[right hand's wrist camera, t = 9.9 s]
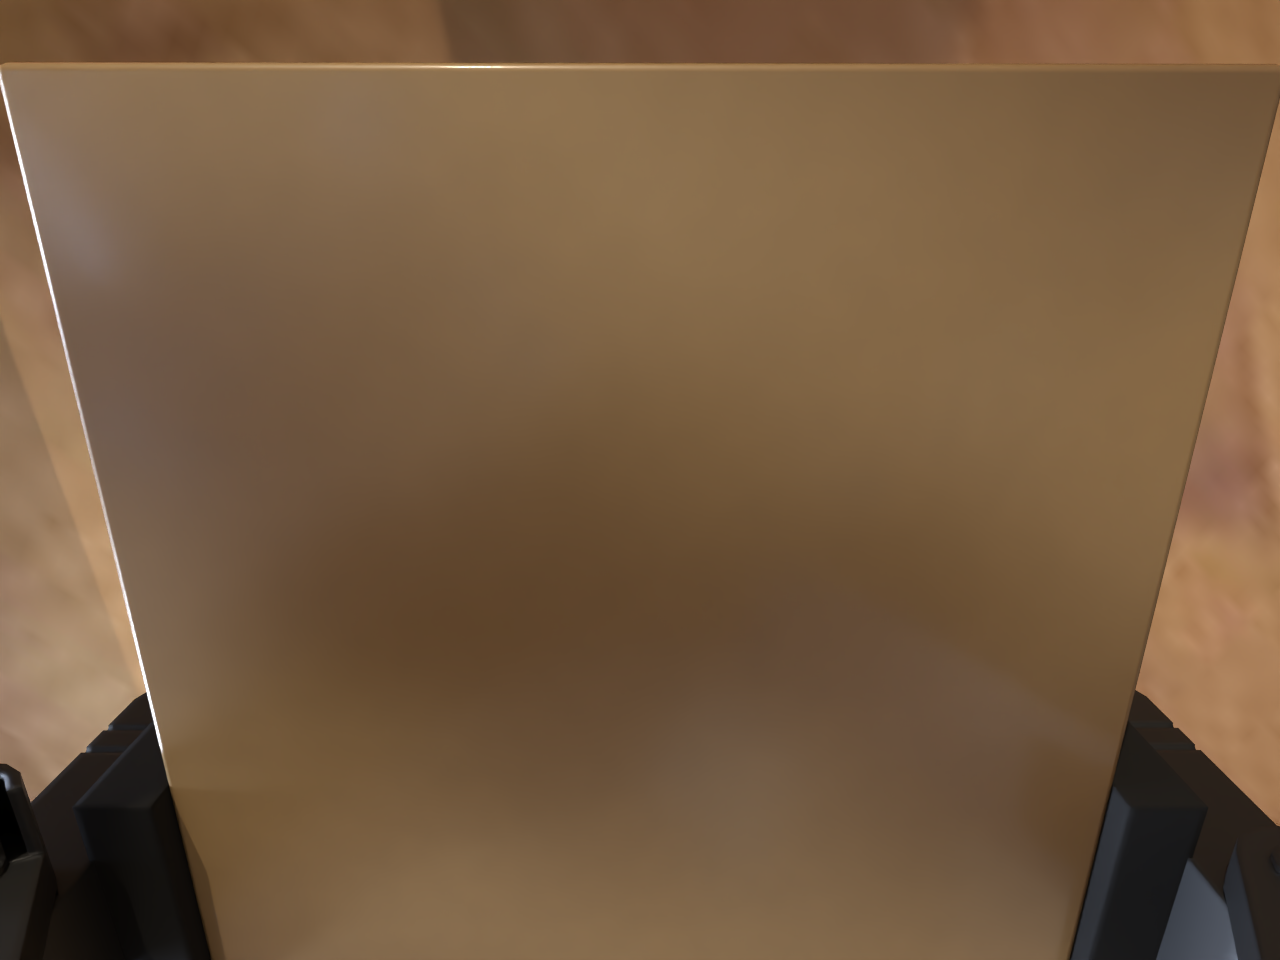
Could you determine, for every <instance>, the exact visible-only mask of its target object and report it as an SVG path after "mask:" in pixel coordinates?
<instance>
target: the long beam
mask: <svg viewBox="0 0 1280 960" xmlns="http://www.w3.org/2000/svg"><path fill="white" fill-rule="evenodd" d="M0 86H1V90H2V94H3V98H4V102H5V107H6V111H7V115H8V119H9V123H10V127H11V131H12V136H13V140H14V144H15V148H16V152H17V156H18V160H19V165H20V169H21V173H22V177H23V181H24V185H25V190H26V194H27V198H28V202H29V206H30V210H31V214H32V219H33V223H34V227H35V231H36V235H37V239H38V243H39V248H40V252H41V256H42V260H43V264H44V268H45V273H46V277H47V281H48V285H49V289H50V293H51V297H52V302H53V306H54V310H55V314H56V318H57V322H58V326H59V331H60V335H61V339H62V343H63V347H64V351H65V355H66V360H67V364H68V368H69V372H70V376H71V380H72V385H73V389H74V393H75V397H76V401H77V405H78V409H79V414H80V418H81V422H82V426H83V430H84V434H85V438H86V443H87V447H88V451H89V455H90V459H91V463H92V468H93V472H94V476H95V480H96V484H97V488H98V492H99V497H100V501H101V505H102V509H103V513H104V517H105V521H106V526H107V530H108V534H109V538H110V542H111V546H112V551H113V555H114V559H115V563H116V567H117V571H118V575H119V580H120V584H121V588H122V592H123V596H124V600H125V604H126V609H127V613H128V617H129V621H130V625H131V629H132V634H133V638H134V642H135V646H136V650H137V654H138V658H139V663H140V667H141V671H142V675H143V679H144V683H145V687H146V692H147V696H148V700H149V704H150V708H151V712H152V717H153V721H154V725H155V729H156V733H157V737H158V741H159V746H160V750H161V754H162V758H163V762H164V766H165V770H166V775H167V779H168V783H169V787H170V791H171V795H172V800H173V804H174V808H175V812H176V816H177V820H178V824H179V829H180V833H181V837H182V841H183V845H184V849H185V853H186V858H187V862H188V866H189V870H190V874H191V878H192V883H193V887H194V891H195V895H196V899H197V903H198V907H199V912H200V916H201V920H202V924H203V928H204V932H205V936H206V941H207V945H208V949H209V953H210V957H211V960H1069V959H1070V955H1071V951H1072V946H1073V942H1074V938H1075V934H1076V930H1077V926H1078V922H1079V918H1080V914H1081V910H1082V906H1083V901H1084V897H1085V893H1086V889H1087V885H1088V881H1089V877H1090V873H1091V869H1092V865H1093V860H1094V856H1095V852H1096V848H1097V844H1098V840H1099V836H1100V832H1101V828H1102V824H1103V820H1104V815H1105V811H1106V807H1107V803H1108V799H1109V795H1110V791H1111V787H1112V783H1113V779H1114V775H1115V770H1116V766H1117V762H1118V758H1119V754H1120V750H1121V746H1122V742H1123V738H1124V734H1125V730H1126V725H1127V721H1128V717H1129V713H1130V709H1131V705H1132V701H1133V697H1134V693H1135V689H1136V685H1137V680H1138V676H1139V672H1140V668H1141V664H1142V660H1143V656H1144V652H1145V648H1146V644H1147V640H1148V635H1149V631H1150V627H1151V623H1152V619H1153V615H1154V611H1155V607H1156V603H1157V599H1158V595H1159V590H1160V586H1161V582H1162V578H1163V574H1164V570H1165V566H1166V562H1167V558H1168V554H1169V549H1170V545H1171V541H1172V537H1173V533H1174V529H1175V525H1176V521H1177V517H1178V513H1179V509H1180V504H1181V500H1182V496H1183V492H1184V488H1185V484H1186V480H1187V476H1188V472H1189V468H1190V464H1191V459H1192V455H1193V451H1194V447H1195V443H1196V439H1197V435H1198V431H1199V427H1200V423H1201V419H1202V414H1203V410H1204V406H1205V402H1206V398H1207V394H1208V390H1209V386H1210V382H1211V378H1212V374H1213V369H1214V365H1215V361H1216V357H1217V353H1218V349H1219V345H1220V341H1221V337H1222V333H1223V329H1224V324H1225V320H1226V316H1227V312H1228V308H1229V304H1230V300H1231V296H1232V292H1233V288H1234V283H1235V279H1236V275H1237V271H1238V267H1239V263H1240V259H1241V255H1242V251H1243V247H1244V243H1245V238H1246V234H1247V230H1248V226H1249V222H1250V218H1251V214H1252V210H1253V206H1254V202H1255V198H1256V193H1257V189H1258V185H1259V181H1260V177H1261V173H1262V169H1263V165H1264V161H1265V157H1266V153H1267V148H1268V144H1269V140H1270V136H1271V132H1272V128H1273V124H1274V120H1275V116H1276V112H1277V108H1278V103H1279V99H1280V66H1279V65H1277V64H880V63H168V62H7V63H4V64H2V65H0Z"/></svg>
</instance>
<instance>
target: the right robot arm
mask: <svg viewBox="0 0 1280 960" xmlns="http://www.w3.org/2000/svg"><path fill="white" fill-rule="evenodd" d="M0 960H211V957H210V953H209V949H208V945H207V941H206V936H205V932H204V928H203V924H202V920H201V916H200V912H199V907H198V903H197V899H196V895H195V891H194V887H193V883H192V878H191V874H190V870H189V866H188V862H187V858H186V853H185V849H184V845H183V841H182V837H181V833H180V829H179V824H178V820H177V816H176V812H175V808H174V804H173V800H172V795H171V791H170V787H169V783H168V779H167V775H166V770H165V766H164V762H163V758H162V754H161V750H160V746H159V741H158V737H157V733H156V729H155V725H154V721H153V717H152V712H151V708H150V704H149V700H148V696H147V692H146V693H144V694H143V695H141V696H139V697H138V698H136V699H135V700H134V701H133V702H132V703H131V704H130V705H129V706H128V707H127V708H126V709H125V710H124V711H123V712H122V713H120V714H119V715H118V716H117V717H116V718H115V719H114V720H113V721H112V722H111V723H110V724H109V728H108V730H107V731H102V732H101V733H100V734H99V735H98V736H97V737H96V738H95V739H94V740H93V741H92V742H91V743H90V744H89V745H88V746H87V750H86V753H80V754H79V755H78V756H77V757H76V758H75V759H74V760H73V761H72V762H71V763H70V764H69V765H68V766H67V767H66V768H65V769H64V770H63V771H62V772H61V773H60V774H59V775H58V776H57V777H56V778H55V779H54V780H53V781H52V782H51V783H50V784H49V785H48V786H47V787H46V788H45V789H44V790H43V791H42V792H41V793H40V794H39V795H38V796H37V797H36V798H35V799H34V800H33V801H32V802H31V803H30V800H29V797H28V794H27V791H26V788H25V785H24V782H23V779H22V776H21V773H20V772H19V771H17V770H15V769H14V768H12V767H11V766H9V765H7V764H0ZM1069 960H1280V826H1277V825H1276V824H1275V823H1274V822H1273V821H1272V820H1271V819H1270V818H1269V817H1268V816H1267V815H1266V814H1265V813H1264V812H1263V811H1262V810H1261V809H1260V808H1258V807H1257V806H1256V805H1255V804H1254V803H1253V802H1252V801H1251V800H1250V799H1249V798H1248V797H1247V796H1246V795H1245V794H1244V793H1243V792H1242V791H1241V790H1240V789H1239V788H1238V787H1237V786H1236V785H1235V784H1234V783H1233V782H1232V781H1231V780H1230V779H1229V778H1228V777H1227V776H1226V775H1225V774H1224V773H1223V772H1222V771H1221V770H1220V769H1219V768H1218V767H1217V766H1216V765H1215V764H1214V763H1213V762H1212V761H1211V760H1210V759H1209V758H1208V757H1207V756H1206V755H1205V754H1204V753H1203V752H1202V751H1201V750H1196V749H1195V744H1194V743H1193V742H1192V741H1191V740H1190V739H1189V738H1188V737H1187V736H1186V735H1185V734H1184V733H1183V732H1182V731H1181V730H1180V729H1179V728H1174V727H1173V722H1172V721H1171V720H1170V719H1169V718H1167V717H1166V716H1165V715H1164V714H1163V713H1162V712H1161V711H1160V710H1159V709H1158V708H1157V707H1156V706H1155V705H1154V704H1153V703H1152V702H1151V701H1150V700H1149V699H1148V698H1147V697H1146V696H1144V695H1143V694H1141V693H1139V692H1138V691H1136V690H1135V693H1134V697H1133V701H1132V705H1131V709H1130V713H1129V717H1128V721H1127V725H1126V730H1125V734H1124V738H1123V742H1122V746H1121V750H1120V754H1119V758H1118V762H1117V766H1116V770H1115V775H1114V779H1113V783H1112V787H1111V791H1110V795H1109V799H1108V803H1107V807H1106V811H1105V815H1104V820H1103V824H1102V828H1101V832H1100V836H1099V840H1098V844H1097V848H1096V852H1095V856H1094V860H1093V865H1092V869H1091V873H1090V877H1089V881H1088V885H1087V889H1086V893H1085V897H1084V901H1083V906H1082V910H1081V914H1080V918H1079V922H1078V926H1077V930H1076V934H1075V938H1074V942H1073V946H1072V951H1071V955H1070V959H1069Z"/></svg>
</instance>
